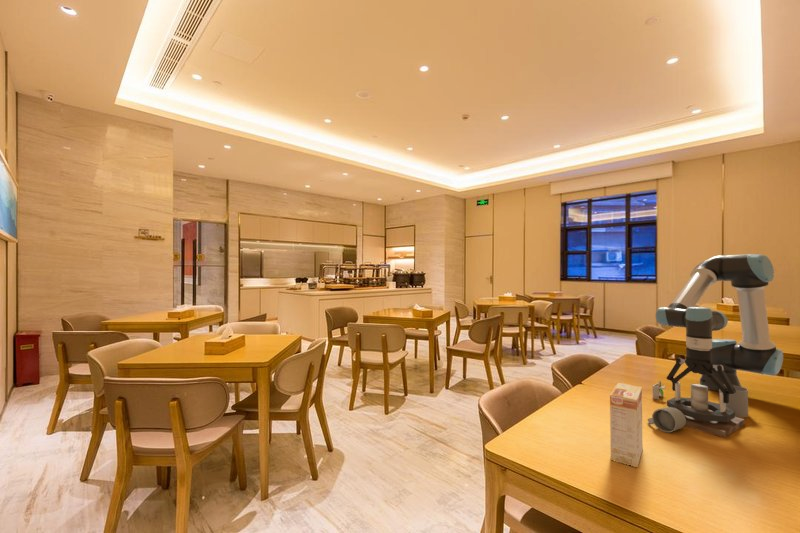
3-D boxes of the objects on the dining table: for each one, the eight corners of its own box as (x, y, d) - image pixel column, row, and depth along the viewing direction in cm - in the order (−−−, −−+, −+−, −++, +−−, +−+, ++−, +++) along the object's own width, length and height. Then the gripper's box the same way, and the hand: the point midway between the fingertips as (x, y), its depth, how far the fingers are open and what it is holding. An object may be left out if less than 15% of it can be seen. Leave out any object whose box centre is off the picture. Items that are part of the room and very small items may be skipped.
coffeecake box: (617, 441, 118) (617, 382, 118) (643, 448, 114) (643, 386, 114) (609, 460, 107) (608, 394, 107) (637, 468, 102) (637, 399, 102)
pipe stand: (679, 406, 148) (679, 375, 148) (744, 424, 131) (744, 388, 131) (656, 417, 138) (656, 383, 138) (724, 438, 121) (724, 399, 121)
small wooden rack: (668, 398, 160) (668, 380, 160) (663, 401, 155) (663, 383, 155) (658, 395, 163) (658, 378, 163) (652, 399, 159) (652, 380, 159)
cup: (753, 418, 137) (753, 391, 137) (728, 416, 139) (728, 390, 139) (737, 409, 145) (737, 384, 146) (714, 408, 147) (714, 383, 147)
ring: (681, 399, 147) (681, 394, 147) (740, 414, 132) (740, 408, 132) (660, 408, 137) (660, 403, 137) (721, 425, 122) (721, 419, 122)
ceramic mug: (688, 430, 126) (687, 408, 126) (676, 436, 122) (675, 413, 122) (654, 420, 135) (654, 399, 136) (642, 425, 131) (642, 403, 132)
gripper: (656, 343, 143) (656, 397, 143) (739, 356, 122) (740, 419, 122) (665, 341, 147) (665, 393, 147) (747, 353, 126) (747, 414, 126)
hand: (699, 405), depth 134 cm, fingers open, 13 cm apart
